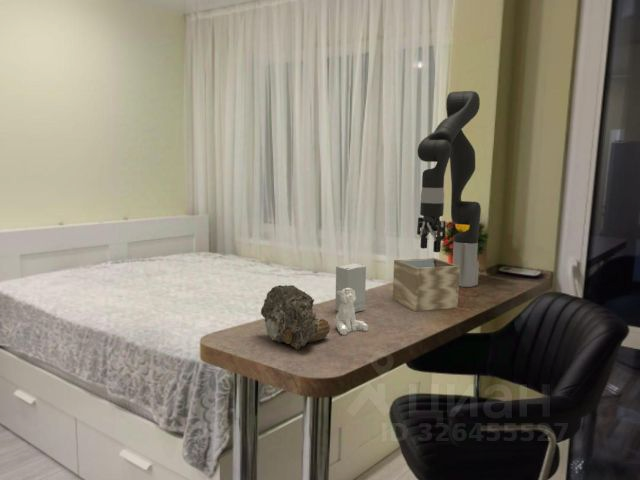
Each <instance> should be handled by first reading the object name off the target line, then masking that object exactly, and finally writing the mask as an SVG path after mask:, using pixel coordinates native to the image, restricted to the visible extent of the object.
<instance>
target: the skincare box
mask: <svg viewBox="0 0 640 480" xmlns="http://www.w3.org/2000/svg"><path fill="white" fill-rule="evenodd" d="M366 275H367V266H366V265H364V264H359V263H357V262H356V263H355V262H354V263H349V264H344V265H337V266H335V307H334V308H335V311H337V312H339V310H338V309H339V306H340V305H341V304H342V303H343V302H342V301H341V299H340V296H339V295H338V294H337V291H342V289H346V288H351V289H353V291H354V290H355V291H354V292H355V296H356V300H355V301H354V303H353V304H354V308H355V313H358V312H361V311H365V310H366V286H367V285H366V280H367V279H366V277H367V276H366Z"/></svg>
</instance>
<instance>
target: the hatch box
mask: <svg viewBox="0 0 640 480" xmlns="http://www.w3.org/2000/svg"><path fill="white" fill-rule="evenodd" d="M428 259H434V265H435V267H425V268H417V267H414V266H411V265H409V264H406V263H403V262H401V261H406V260H428ZM459 272H460V266H457V265H454V264H453V263H450V262H448V261H444V260H442V259H438V258H435V257H433V258H413V259H412V258H411V259H394V260H393V281H392V282H393V283H392V284H393V285H392V300H393V301H395V302H397V303H399V304H400V305H403V306H404V307H406V308H408V309H410V310H411V311H414V312H421V311H422V312H423V311H434V310H447V309H458V307H459V287H460V286H459Z"/></svg>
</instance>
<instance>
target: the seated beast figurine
mask: <svg viewBox="0 0 640 480" xmlns="http://www.w3.org/2000/svg"><path fill="white" fill-rule="evenodd" d="M354 291H355V290H354ZM354 291H353V289H351V288H346V289H342V291H337V294H338V295H339V296H340V299H341V301H342V302H343V303H342V304H341V305H340V306H339V309H338V310H339V311H337V314H336V317H335V318H334V319H335V321H334V322H335V326H336V328H337V331H338V332H339V334H340V335H341V334H342V336H346V335H347V334H348V333H351V332H357V331H356V330H358V331H362V330H363V331H364V332H368V330H369V324H367V323H365V321H364V320H357V318H356V312H355V308H354V304H353V303H354V301H355V300H356V296H355V292H354ZM351 329H352V330H351ZM347 332H348V333H347Z"/></svg>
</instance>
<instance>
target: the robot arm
mask: <svg viewBox="0 0 640 480" xmlns="http://www.w3.org/2000/svg"><path fill="white" fill-rule="evenodd" d="M445 103H446V105H445V106H446V107H445V108H446V118H445V119H444V118H443V120H442V121H440V123H439V124H438V125H437V127H436V128H435V130H434V131H433V132H431V133H430V134H428V135H427V136H426V137H424V138H423V139H422V140H421V141H420V143H419V145H418V146H417V156H418V159H420V161H421V162H427V163H429V162H431V163H432V162H434V163H435V162H436V164H435V166H434V167H433V168H428V169H427V168H426V169H425V170H423V171H422V176H421V179H422V180H421V193H420V207H419V209H420V211H419V214H420V216H419V217H418V218H417V230H416V234H417V235H418V236H419V237H420V249H423V250H424V249H428V240H429V239H428V236H429V234H430V235H431V236H432V238H433V250H432V251H433V252H434V253H441V250H442V249H441V248H442V247H441V244H442V241H443V240H446V232H447V231H446V226H447V225H446V223H447V222H446V220H441V219H440V218H441V217H443V216H444V207H445V190H444V189H445V174H446V170H447V168H448V163H449V167H450V179H451V182H450V183H451V193H450V194H451V195H450V196H451V200H450V217H451V222H452V223H453V224H455V225H464V226H469V227H468V229H467V230H465V231H462V232H458V233H455V234H454V236H453V247H452V249H453V250H452V264H454V265H457V266H460V272H459V287H463V288H464V287H465V288H471V287H473V288H474V287H475V286H478V284H479V270H480V269H479V268H480V267H479V266H480V262H479V261H478V250H479V249H478V248H479V247H478V245H479V233H480V221H481V212H482V208H481V204H480V202H477V201H468V200H467V201H466V200H465V201H464V200H462V194H463V190H464V189H465V187H466V185H467V184H468V182H469V181H470V180H471V178H472V176H473V175H474V172H476V151H475V148H474V147H473V144H472V143H471V142H470V140H469V139H468V138H467V136H466V134H465V133H464V131H463V128H464V127H465V126H466V125H467V124H468V123H469V122H471V120H473V119H474V118H475V117H476V115H477V114H478V112H479V110H480V106H481V105H480V104H481V101H480V95H479V94H478V92H477V91H473V90H467V91H466V90H463V91H450V92H448V94H447V97H446V102H445ZM421 216H422V217H421Z"/></svg>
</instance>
